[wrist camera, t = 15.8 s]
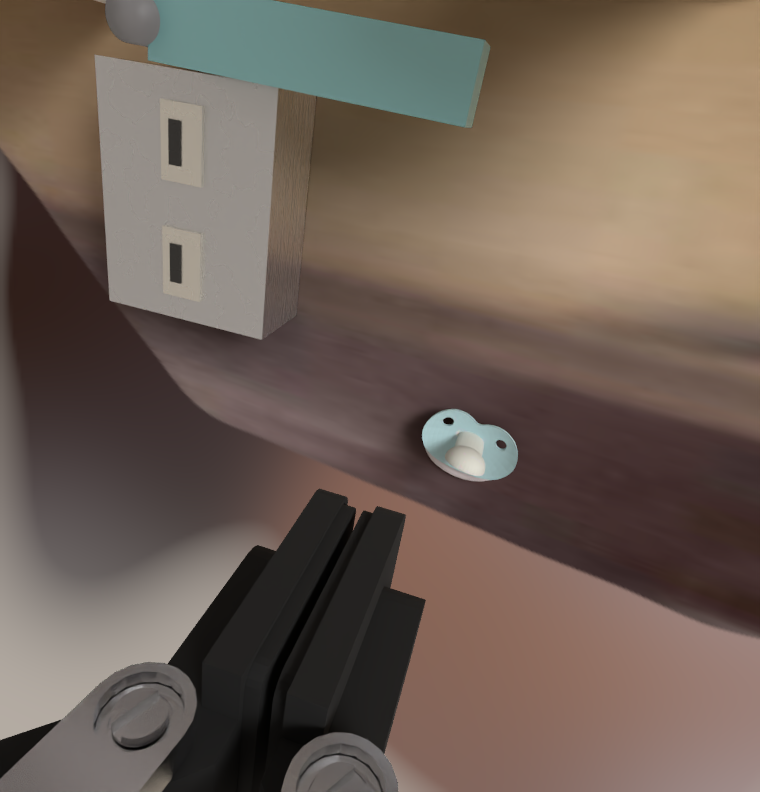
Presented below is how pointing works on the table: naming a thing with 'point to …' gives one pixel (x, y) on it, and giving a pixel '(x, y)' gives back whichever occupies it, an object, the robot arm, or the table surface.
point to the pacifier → (468, 447)
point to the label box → (203, 194)
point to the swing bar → (312, 53)
